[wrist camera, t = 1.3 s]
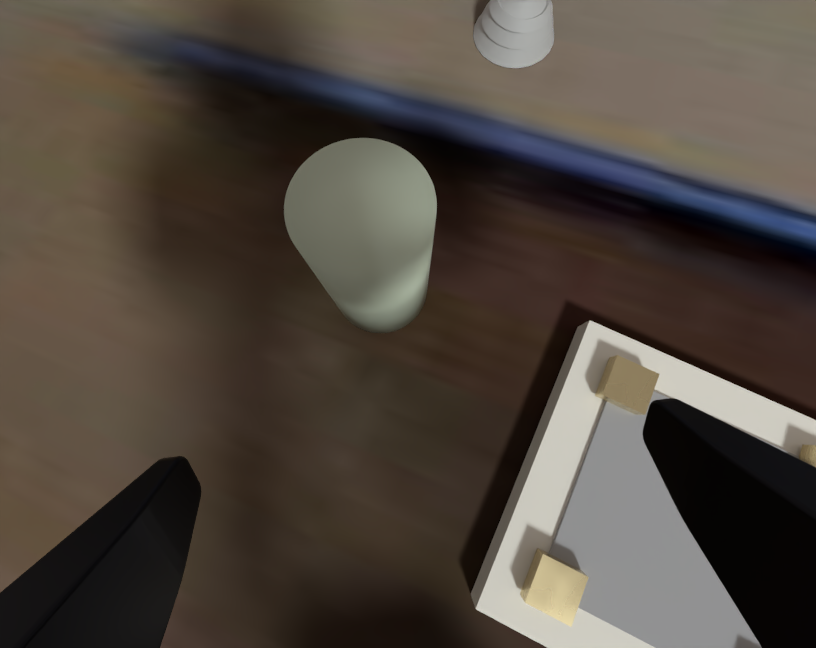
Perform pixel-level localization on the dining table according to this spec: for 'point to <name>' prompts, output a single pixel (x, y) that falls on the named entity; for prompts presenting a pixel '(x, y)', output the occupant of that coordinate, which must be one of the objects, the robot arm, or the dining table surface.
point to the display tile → (618, 508)
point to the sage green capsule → (365, 229)
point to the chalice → (515, 32)
